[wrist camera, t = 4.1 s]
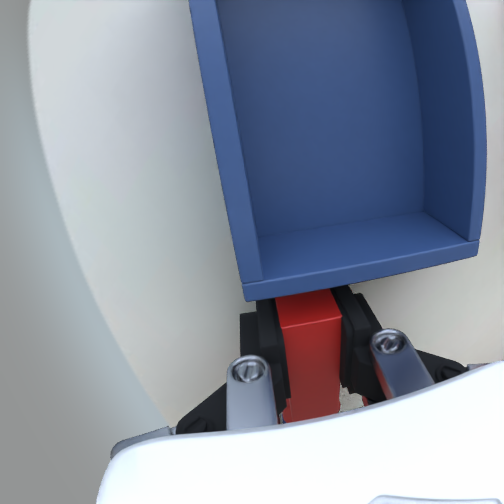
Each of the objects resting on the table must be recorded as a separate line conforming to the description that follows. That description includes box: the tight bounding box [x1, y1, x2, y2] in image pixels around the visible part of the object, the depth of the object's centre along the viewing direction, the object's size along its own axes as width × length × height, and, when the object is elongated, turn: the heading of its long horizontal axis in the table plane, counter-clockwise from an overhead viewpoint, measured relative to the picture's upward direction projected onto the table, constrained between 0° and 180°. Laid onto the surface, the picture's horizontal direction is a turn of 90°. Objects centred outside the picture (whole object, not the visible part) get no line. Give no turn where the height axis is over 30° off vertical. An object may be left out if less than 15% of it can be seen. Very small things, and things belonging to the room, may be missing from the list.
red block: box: [275, 288, 342, 423], centre depth 12 cm, size 8×3×3 cm, turn 9°
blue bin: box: [188, 0, 487, 302], centre depth 7 cm, size 11×8×4 cm
